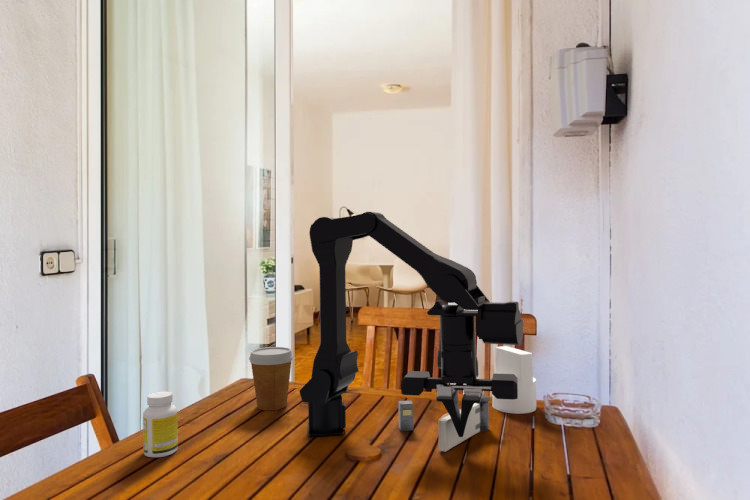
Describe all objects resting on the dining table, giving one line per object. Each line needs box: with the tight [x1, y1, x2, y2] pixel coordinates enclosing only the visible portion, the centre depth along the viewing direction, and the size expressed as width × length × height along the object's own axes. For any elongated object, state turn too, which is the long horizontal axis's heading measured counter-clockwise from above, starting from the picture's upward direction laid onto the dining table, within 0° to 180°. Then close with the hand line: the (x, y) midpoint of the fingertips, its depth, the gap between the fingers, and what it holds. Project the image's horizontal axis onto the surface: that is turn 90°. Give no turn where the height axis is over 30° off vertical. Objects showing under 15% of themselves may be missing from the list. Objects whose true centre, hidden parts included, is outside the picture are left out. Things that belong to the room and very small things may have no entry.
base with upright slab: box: [491, 345, 537, 415], centre depth 112 cm, size 9×9×12 cm
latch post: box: [397, 400, 414, 432], centre depth 99 cm, size 2×2×5 cm
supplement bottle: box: [142, 391, 179, 458], centre depth 90 cm, size 5×5×10 cm
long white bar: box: [437, 403, 481, 453], centre depth 93 cm, size 12×1×5 cm, turn 141°
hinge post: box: [477, 394, 491, 432], centre depth 99 cm, size 3×3×6 cm
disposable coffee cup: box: [248, 346, 294, 411], centre depth 115 cm, size 10×10×12 cm
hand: (461, 436), depth 88 cm, fingers closed
